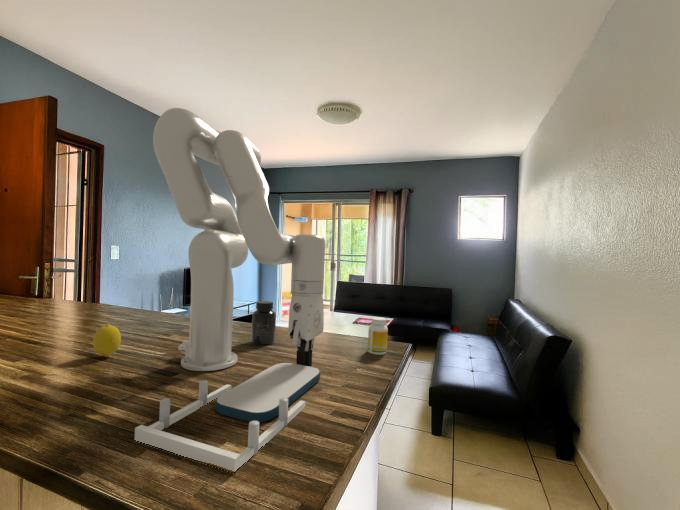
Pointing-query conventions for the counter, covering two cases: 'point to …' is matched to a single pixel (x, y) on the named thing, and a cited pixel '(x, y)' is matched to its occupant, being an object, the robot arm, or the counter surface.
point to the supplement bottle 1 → (263, 324)
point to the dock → (204, 451)
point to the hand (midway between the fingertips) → (303, 366)
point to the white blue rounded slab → (267, 392)
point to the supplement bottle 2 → (377, 336)
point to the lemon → (106, 340)
